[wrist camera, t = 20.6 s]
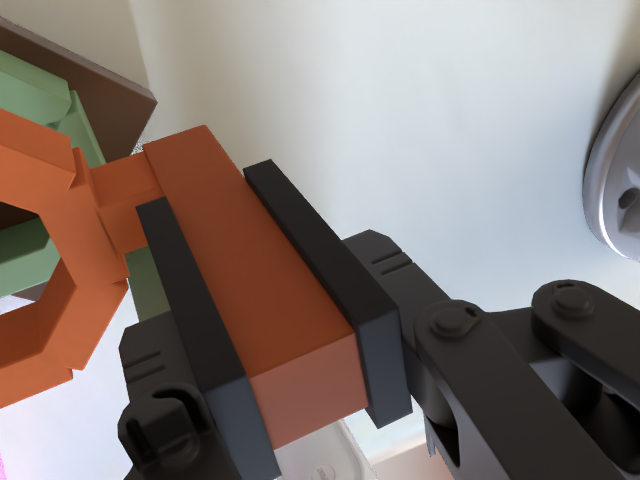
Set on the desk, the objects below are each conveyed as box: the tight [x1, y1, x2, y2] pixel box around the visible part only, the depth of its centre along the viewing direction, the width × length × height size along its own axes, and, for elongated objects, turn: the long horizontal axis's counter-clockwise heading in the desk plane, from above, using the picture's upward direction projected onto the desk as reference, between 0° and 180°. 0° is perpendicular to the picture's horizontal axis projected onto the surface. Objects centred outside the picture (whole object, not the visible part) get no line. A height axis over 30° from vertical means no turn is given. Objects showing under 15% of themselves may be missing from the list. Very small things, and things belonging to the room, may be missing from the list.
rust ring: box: [0, 108, 369, 450], centre depth 14 cm, size 12×8×10 cm
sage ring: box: [0, 50, 171, 322], centre depth 19 cm, size 12×8×10 cm
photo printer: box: [273, 418, 379, 480], centre depth 32 cm, size 10×4×12 cm, turn 18°
